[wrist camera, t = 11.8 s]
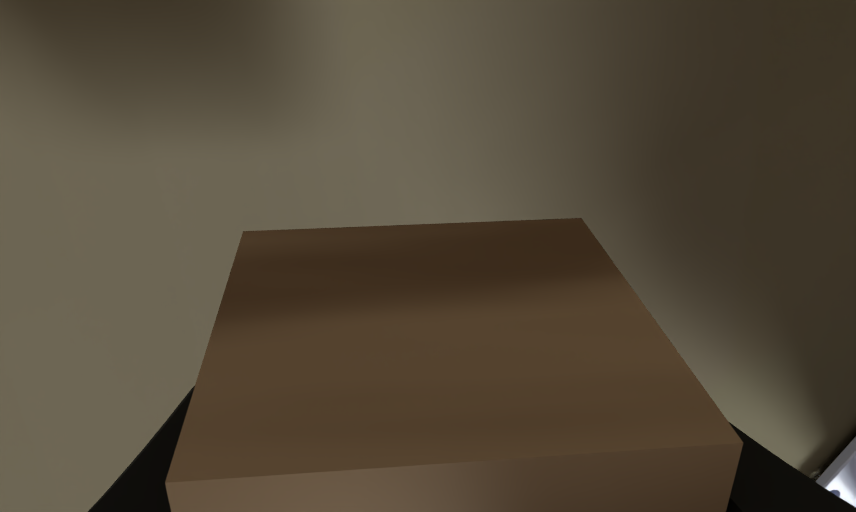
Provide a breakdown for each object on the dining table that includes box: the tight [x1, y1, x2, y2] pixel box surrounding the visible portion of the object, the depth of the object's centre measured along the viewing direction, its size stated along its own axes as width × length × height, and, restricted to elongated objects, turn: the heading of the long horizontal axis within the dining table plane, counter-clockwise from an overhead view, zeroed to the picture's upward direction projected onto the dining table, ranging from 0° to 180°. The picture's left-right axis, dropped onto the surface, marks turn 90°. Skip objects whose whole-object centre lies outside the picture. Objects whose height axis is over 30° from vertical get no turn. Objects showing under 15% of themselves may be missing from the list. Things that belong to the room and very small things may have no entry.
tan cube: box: [165, 218, 743, 512], centre depth 10 cm, size 5×5×5 cm
